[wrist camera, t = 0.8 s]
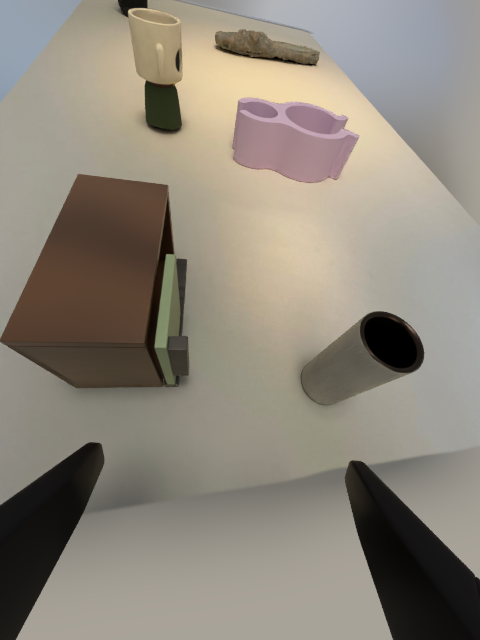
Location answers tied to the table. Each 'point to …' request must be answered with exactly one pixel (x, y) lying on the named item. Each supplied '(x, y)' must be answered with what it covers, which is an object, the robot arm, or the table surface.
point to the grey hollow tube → (363, 358)
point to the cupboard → (100, 287)
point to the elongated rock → (264, 46)
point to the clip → (292, 139)
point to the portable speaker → (131, 5)
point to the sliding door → (171, 327)
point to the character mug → (158, 63)
